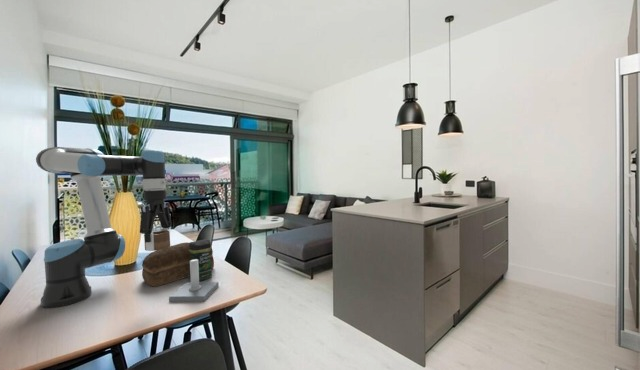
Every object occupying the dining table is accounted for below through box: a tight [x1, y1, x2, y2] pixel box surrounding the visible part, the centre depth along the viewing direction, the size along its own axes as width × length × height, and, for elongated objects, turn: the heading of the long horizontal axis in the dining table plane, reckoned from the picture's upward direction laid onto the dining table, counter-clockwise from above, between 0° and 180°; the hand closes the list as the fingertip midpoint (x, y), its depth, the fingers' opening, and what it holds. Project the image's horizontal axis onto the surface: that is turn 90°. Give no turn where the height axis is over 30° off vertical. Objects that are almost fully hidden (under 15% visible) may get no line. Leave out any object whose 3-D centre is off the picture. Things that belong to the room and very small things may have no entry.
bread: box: [141, 242, 215, 287], centre depth 134 cm, size 15×32×16 cm, turn 142°
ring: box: [143, 229, 171, 252], centre depth 105 cm, size 8×8×6 cm
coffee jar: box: [189, 238, 213, 282], centre depth 128 cm, size 10×8×19 cm
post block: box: [168, 259, 219, 303], centre depth 112 cm, size 14×14×14 cm
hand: (157, 246), depth 105 cm, fingers closed on ring, 8 cm apart
